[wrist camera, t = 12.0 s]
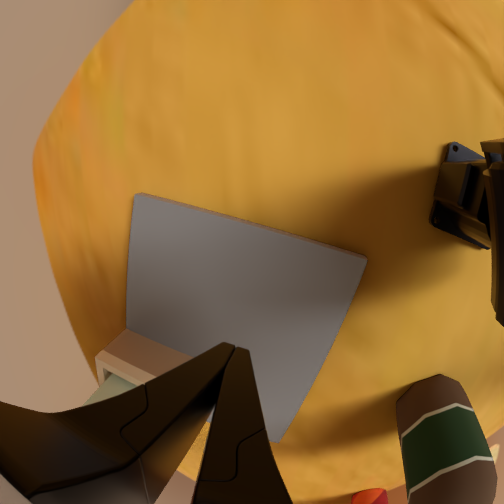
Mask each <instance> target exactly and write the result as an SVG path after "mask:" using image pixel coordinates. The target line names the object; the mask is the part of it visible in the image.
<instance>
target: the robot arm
mask: <svg viewBox="0 0 504 504" xmlns="http://www.w3.org/2000/svg"><path fill="white" fill-rule="evenodd" d="M480 144H481V148H482V152H484V155H485V158H484V157H483V156H481V155H479V154H477V153H476V152H474V151H472V150H470V149H468V148H467V147H465V146H463V145H461V144H459V143H457V142H450V143H449V145H448V148H447V153H446V157H445V162H444V163H442V164H441V168H440V172H439V176H438V180H437V184H436V188H435V191H434V198H435V200H434V204H433V207H432V210H431V214H430V217H429V223H430V224H431V225H432V226H434V227H436V228H438V229H441V230H443V231H446V232H448V233H450V234H453V235H455V236H457V237H460V238H462V239H464V240H466V241H469V242H471V243H473V244H475V245H478V246H480V247H482V248H484V249H486V250H488V249H490V248H491V253H492V287H491V303H492V305H493V308H494V311H495V312H496V320H497V321H498V322H499V323H500V324H501V325H502V326H503V327H504V138H502V139H496V140H489V141H483V142H480ZM453 146H455V147H456V151H455V152H454V151H453ZM435 217H437V218H438V221H437V222H436V223H434V218H435ZM213 409H214V411H213ZM212 411H213V415H212V419H211V423H210V427H209V431H208V435H207V439H206V443H205V447H204V451H203V455H202V460H201V464H200V468H199V472H198V476H197V480H196V484H195V488H194V492H193V496H192V500H191V504H293V502H292V500H291V498H290V496H289V493H288V491H287V489H286V486H285V484H284V482H283V479H282V477H281V475H280V472H279V470H278V467H277V464H276V462H275V459H274V456H273V453H272V450H271V446H270V442H269V438H268V434H267V430H266V426H265V421H264V416H263V412H262V407H261V403H260V398H259V393H258V389H257V384H256V379H255V375H254V370H253V365H252V360H251V355H250V351H249V350H248V349H245V348H242V347H239V346H237V347H236V346H235V345H233V344H230V343H227V342H221V343H220V344H218V345H216V346H214V347H212V348H211V349H209V350H207V351H205V352H203V353H201V354H200V355H198V356H196V357H194V358H192V359H190V360H188V361H187V362H185V363H183V364H181V365H179V366H177V367H175V368H173V369H171V370H169V371H167V372H165V373H163V374H162V375H160V376H158V377H156V378H154V379H152V380H150V381H148V382H145V385H144V384H141V385H139V386H137V387H135V388H133V389H131V390H128V391H126V392H124V393H121V394H119V395H116V396H114V397H111V398H108V399H105V400H102V401H99V402H95V403H92V404H89V405H85V406H82V407H78V408H75V409H71V410H67V411H63V412H57V413H43V412H38V411H34V410H30V409H25V408H22V407H18V406H15V405H11V404H7V403H4V402H1V401H0V504H154V503H155V501H156V500H157V498H158V497H159V495H160V494H161V492H162V491H163V489H164V487H165V486H166V485H167V483H168V482H169V480H170V479H171V477H172V476H173V474H174V472H175V471H176V469H177V468H178V466H179V465H180V463H181V461H182V460H183V458H184V457H185V455H186V454H187V452H188V450H189V449H190V447H191V445H192V444H193V442H194V441H195V439H196V437H197V436H198V434H199V432H200V431H201V429H202V427H203V426H204V424H205V423H206V421H207V419H208V418H209V416H210V414H211V412H212Z"/></svg>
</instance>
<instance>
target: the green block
mask: <svg viewBox="0 0 504 504" xmlns="http://www.w3.org/2000/svg"><path fill="white" fill-rule="evenodd" d="M135 387H137V385H135V384H133V383H131V382H129V381H127V380H125V379H123V378H121V377H119V376H117V375H116V374H114V373H112V375H111V376H110V377H109V378H108V379H107V380H106V381H105V382H104V383H103V384H102V385H101V386H100V387H99V388H98V390H97V391H96V392H95V393H94V394H93V395H92V396H91V397H90V398H89V399H88V400H87V401H86V402H85V403H84V404H83V406H85V405H89V404H92V403H95V402H99V401H102V400H105V399H108V398H111V397H114V396H116V395H119V394H121V393H124V392H126V391H128V390H131V389H133V388H135Z"/></svg>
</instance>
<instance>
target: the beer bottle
mask: <svg viewBox="0 0 504 504" xmlns="http://www.w3.org/2000/svg"><path fill="white" fill-rule="evenodd" d="M396 413H397V427H398V435H399V440H400V446H401V452H402V459H403V466H404V473H405V481H406V489H407V499H408V504H492V503H493V500H494V498H495V493H496V485H497V474H496V469H495V465H494V460H493V458H492V455H491V452H490V449H489V447H488V444H487V441H486V439H485V436H484V434H483V431H482V429H481V426H480V424H479V422H478V419H477V417H476V415H475V412H474V410H473V408H472V406H471V403H470V401H469V399H468V397H467V395H466V393H465V391H464V389H463V388H462V386H461V384H460V383H459V382H458V381H456V380H453V379H451V378H449V377H447V376H444V375H442V374H439V375H436V376H434V377H431V378H428V379H425V380H422V381H419V382H416V383H414V385H413V386H412V387H411V388H410V389H409V390H408V391H407V392H406V393H405V394H404V395H403V396H402V397H401V398H400V399H399V400H398V401H397V403H396Z"/></svg>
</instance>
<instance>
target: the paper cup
mask: <svg viewBox="0 0 504 504" xmlns="http://www.w3.org/2000/svg"><path fill="white" fill-rule="evenodd" d="M351 504H388V498H387V493H386V490H384V489H380V488H375V489H368V490H364V491H360V492H358V493H356V494H354V495H353V496H352V501H351Z"/></svg>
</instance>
